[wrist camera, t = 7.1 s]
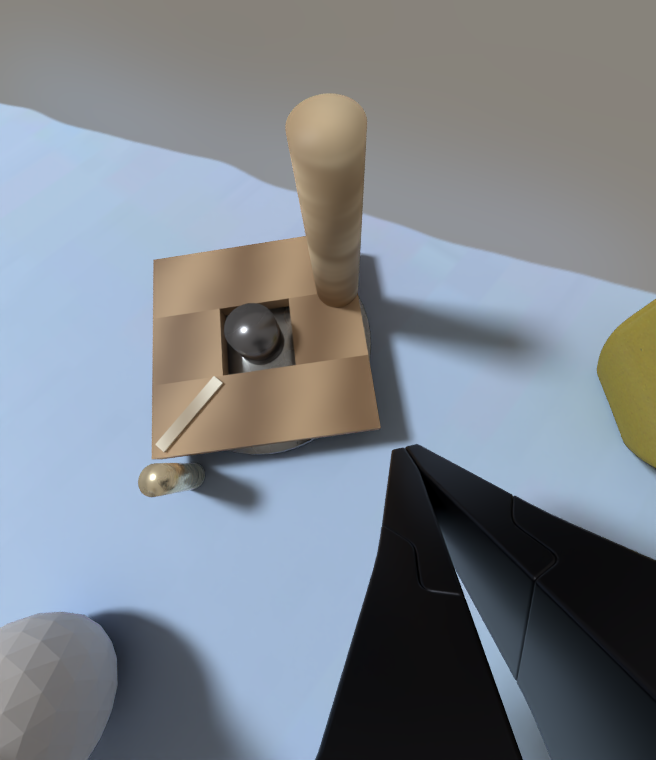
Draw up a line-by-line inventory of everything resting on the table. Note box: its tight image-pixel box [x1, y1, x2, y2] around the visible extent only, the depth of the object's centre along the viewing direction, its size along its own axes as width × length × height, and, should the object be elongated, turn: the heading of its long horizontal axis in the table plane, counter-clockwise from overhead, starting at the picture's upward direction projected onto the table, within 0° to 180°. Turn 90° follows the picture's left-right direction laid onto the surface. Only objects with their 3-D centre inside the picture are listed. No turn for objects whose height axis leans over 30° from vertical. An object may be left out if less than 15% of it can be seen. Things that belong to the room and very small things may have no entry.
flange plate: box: [152, 94, 381, 459], centre depth 15 cm, size 13×13×11 cm
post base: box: [138, 297, 371, 497], centre depth 19 cm, size 14×17×4 cm
